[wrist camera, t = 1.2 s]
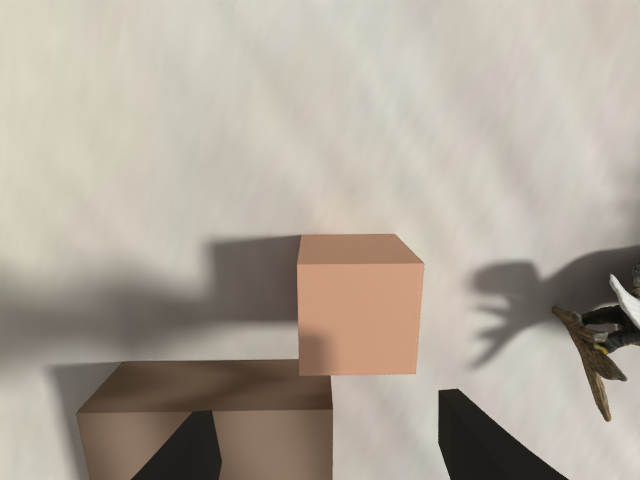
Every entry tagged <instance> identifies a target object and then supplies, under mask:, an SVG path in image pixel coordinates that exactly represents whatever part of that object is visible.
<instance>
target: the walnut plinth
mask: <svg viewBox="0 0 640 480" xmlns="http://www.w3.org/2000/svg"><path fill="white" fill-rule="evenodd" d="M206 410H212V413H213V418H214V423H215V428H216V433H217V438H218V443H219V448H220V453H221V458H222V466H221V471H220V476H219V480H332V467H333V404H332V390H331V376H330V375H315V376H299V360H239V361H161V362H122V363H121V365H120V366H119V367H118V368H117V369H116V370H115V371H114V372H113V373H112V374H111V375H110V377H109V378H108V379H107V380H106V381H105V382H104V383H103V384H102V385H101V386H100V387H99V389H98V390H97V391H96V392H95V393H94V394H93V395H92V396H91V397H90V398H89V400H88V401H87V402H86V403H85V404H84V405H83V406H82V407H81V408H80V409H79V410H78V412H77V413H76V416H77V421H78V426H79V430H80V435H81V439H82V444H83V448H84V453H85V457H86V462H87V467H88V471H89V476H90V480H131V479H132V478H133V477H134V476H135V475H136V474H137V473H138V471H139V470H140V469H141V468H142V467H143V466H144V465H145V464H146V463H147V462H148V461H149V460H150V458H151V457H152V456H153V455H154V454H155V453H156V452H157V451H158V450H159V449H160V448H161V446H162V445H163V444H164V443H165V442H166V441H167V440H168V439H169V438H170V436H171V435H172V434H173V433H174V432H175V431H176V430H177V429H178V427H179V426H180V425H181V424H182V423H183V422H184V421H185V420H186V419H187V417H188V416H189V415H190V414H191V413H192V412H194V411H206Z"/></svg>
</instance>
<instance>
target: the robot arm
mask: <svg viewBox="0 0 640 480" xmlns="http://www.w3.org/2000/svg"><path fill="white" fill-rule="evenodd" d="M438 443H439V446H440V449H441V453H442V456H443V459H444V462H445V465H446V467H447V470H448V473H449V476H450V479H451V480H569V479H567V478H566V477H564V476H563V475H562V474H560V473H559V472H557V471H556V470H555V469H553V468H552V467H551V466H549V465H548V464H547V463H545V462H544V461H543V460H541V459H540V458H539V457H538V456H536V455H535V454H534V453H532V452H531V451H530V450H528V449H527V448H526V447H525V446H523V445H522V444H521V443H520V442H519V441H517V440H516V439H515V438H514V437H513V436H511V435H510V434H509V433H508V432H507V431H505V430H504V429H503V428H502V427H501V426H500V425H498V424H497V423H496V422H495V421H494V420H493V419H491V418H490V417H489V416H488V415H487V414H486V413H485V412H484V411H482V410H481V409H480V408H479V407H478V406H477V405H476V404H475V403H473V402H472V401H471V400H470V399H469V398H468V397H467V396H466V395H464V394H463V393H462V392H461V391H460V390H459V389H449V390H439V422H438ZM221 466H222V458H221V453H220V448H219V443H218V438H217V433H216V428H215V423H214V418H213V413H212V410H206V411H194V412H192V413H191V414H190V415H189V416H188V417H187V419H186V420H185V421H184V422H183V423H182V424H181V425H180V426H179V427H178V429H177V430H176V431H175V432H174V433H173V434H172V435H171V436H170V438H169V439H168V440H167V441H166V442H165V443H164V444H163V445H162V446H161V448H160V449H159V450H158V451H157V452H156V453H155V454H154V455H153V456H152V457H151V458H150V460H149V461H148V462H147V463H146V464H145V465H144V466H143V467H142V468H141V469H140V470H139V471H138V473H137V474H136V475H135V476H134V477H133V478H132V479H131V480H219V476H220V471H221Z"/></svg>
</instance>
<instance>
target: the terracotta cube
mask: <svg viewBox="0 0 640 480" xmlns="http://www.w3.org/2000/svg"><path fill="white" fill-rule="evenodd" d="M423 274H424V263H423V262H422V261H421V260H420V259H419V258H418V257H417V256H416V255H415V254H414V253H413V252H412V251H411V250H410V249H409V248H408V247H407V246H406V245H405V244H404V243H403V242H402V241H401V240H400V239H399V238H398V237H397V236H396V235H395V234H365V235H301V241H300V248H299V254H298V261H297V291H298V336H299V376H315V375H386V374H416V365H417V352H418V339H419V326H420V313H421V300H422V287H423Z"/></svg>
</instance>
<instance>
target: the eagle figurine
mask: <svg viewBox="0 0 640 480" xmlns="http://www.w3.org/2000/svg"><path fill="white" fill-rule="evenodd" d="M632 275H633V277H634V278H635V279H634V281H633V286H634V287H635V289H634V290H632V291H631V294H629V293H628V292H626V291H625V289H624V288H623V287H622V286H621V284H620V283H619V282H618V280H617V279H616V278H615V276H614V275H612V274H610V281H609V282H610V285H611V287H612V289H613V290H614V291H615V293H616V294H617V296H618V301H619V305H616V306H614V307H612V306H609V307H603V308H600V309H597V310H595V311H591V312H588V313H585V314H582V315H581V316H580V315H579V314H578V313H577V312H575V311H572V312H569V311H564V310H562V309H557V308H556V307H552V312H553V313H554V314H555V315H556V316H557V317H558V318H560V319H561V320H562V322H563V323H564V325H565V326H566V328H567V329H568V331H569V333H570V335H571V338H572V340H573V342H574V343H575V345H576V347H577V349H578V351H579V353H580V356H581V358H582V362H583V366H584V369H585V372H586V375H587V378H588V381H589V384H590V387H591V390H592V393H593V396H594V399H595V402H596V405H597V406H598V408H599V410H600V412H601V413H602V415H603V417H604V419H605V420H606V421H607V422H609V421H611V414H610V411H609V406H608V400H607V396H606V393H605V387H604V384H603V382H602V380H601V377H600V376H602V377H603V378H605V379H609V380H621V381H627V378H626V376H625V375H624V374H623V373H622V371H621V370H620V369H619V368H618V367H617V366H616V364H615V363H614V362H613V361H612V360H611V359H610V358H609V357H608V356H607V354H608V353H612V352H614V351H615V350H616V349H618V348H620V347H623V346H628V345H630V344H633V345H638V346H640V262H639V264H638V265H635V266H634V267H633V271H632ZM604 323H610V324H618V325H617V327H618V331H613V332H612V333H609V334H608V332H598V331H594V330H592V329H589V328H587V327H585V326H586V325H587V324H604Z"/></svg>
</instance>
